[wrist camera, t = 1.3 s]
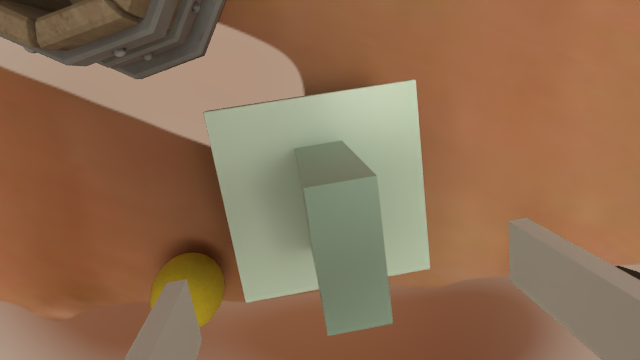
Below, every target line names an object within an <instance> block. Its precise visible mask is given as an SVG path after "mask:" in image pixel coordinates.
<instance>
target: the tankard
mask: <svg viewBox="0 0 640 360" xmlns="http://www.w3.org/2000/svg"><path fill="white" fill-rule="evenodd" d="M225 1H226V0H0V37H3V38H5V39H7V40H10V41H12V42H14V43H17V44H19V45H21V46H23V47H24V48H25V50H27V51H28V52H31V53H36V52H38V53H40V54H42V55H45V56H47V57H49V58H52V59H54V60H56V61H58V62H61V63H63V64H65V65H73V66H88V65H91V64H93V63H99V64H101V65H103V66H106V67H110V68H112V69H115V70H117V71H119V72H121V73H124V74H126V75H128V76H131V77H133V78H135V79H143V78H145V77H148V76H151V75H153V74H156V73H159V72H162V71H164V70H167V69H170V68H172V67H175V66H178V65H180V64H183V63H186V62H188V61H191V60H194V59H196V58H199V57H202V56H204V55H205V53H206V50H207V48H208V45H209V42H210V40H211V37H212V35H213V32H214V29H215V27H216V24H217V22H218V19H219V17H220V14H221V11H222V9H223V6H224V4H225Z"/></svg>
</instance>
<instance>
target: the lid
mask: <svg viewBox="0 0 640 360" xmlns="http://www.w3.org/2000/svg"><path fill="white" fill-rule="evenodd" d="M204 118H205V122H206V127H207V131H208V136H209V140H210V145H211V149H212V154H213V158H214V162H215V167H216V171H217V176H218V180H219V185H220V189H221V194H222V198H223V203H224V207H225V212H226V216H227V221H228V225H229V229H230V234H231V238H232V243H233V247H234V252H235V256H236V261H237V265H238V270H239V274H240V279H241V283H242V287H243V292H244V296H245V301H246V303H247V302H253V301H258V300H263V299H269V298H274V297H280V296H285V295H290V294H296V293H301V292H307V291H312V290H317V289H319V292H320V297H321V302H322V307H323V313H324V318H325V323H326V328H327V334H328V336H330V335H335V334H341V333H346V332H351V331H356V330H361V329H366V328H371V327H377V326H382V325H387V324H392V323H393V319H392V310H391V300H390V291H389V282H388V276H393V275H398V274H404V273H409V272H414V271H420V270H425V269H430V261H429V248H428V235H427V221H426V208H425V195H424V182H423V169H422V156H421V143H420V130H419V117H418V103H417V90H416V80H404V81H398V82H391V83H385V84H378V85H372V86H365V87H359V88H352V89H346V90H340V91H333V92H327V93H320V94H314V95H307V96H301V97H294V98H288V99H281V100H275V101H269V102H262V103H255V104H249V105H242V106H236V107H230V108H223V109H217V110H210V111H205V112H204Z"/></svg>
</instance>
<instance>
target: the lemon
mask: <svg viewBox="0 0 640 360" xmlns="http://www.w3.org/2000/svg"><path fill="white" fill-rule="evenodd" d="M185 279H187V283H188V287H189V291H190V295H191V298H192V302H193V306H194V310H195V314H196V318H197V321H198V325H199V328H200V327H202V326H203V325H205V324H206V323H207V322H208V321H209V320H210V319H211V318H212V317H213V316H214V314H215V313H216V311H217V310H218V308H219V307H220V304H221V302H222V299H223V295H224V287H225V281H224V277H223V273H222V270H221V269H220V267H219V265H218V264H217V263H216V262H215V261H214V260H213V259H212V258H210V257H208V256H207V255H204V254H201V253H193V252H192V253H184V254H181V255H179V256H176V257H174V258H173V259H171V260H170V261H169V262H167V263H166V264H165V265H164V266H163V267H162V269H161V270H160V271H159V272H158V274H157V276H156V278H155V280H154V282H153V285H152V288H151V295H150V305H151V310H152V308H153V306H154V305H155V303H156V301H157V299H158V297H159V296H160V294H161V292H162V290H163V288H164V287H165V285H166V283H168V282H174V281H179V280H185Z"/></svg>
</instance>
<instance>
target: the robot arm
mask: <svg viewBox="0 0 640 360" xmlns="http://www.w3.org/2000/svg"><path fill="white" fill-rule="evenodd" d="M509 260H510V281H511V282H512V283H513V284H514V285H515V286H517V287H518V288H519V289H520V290H521V291H522V292H524V293H525V294H526V295H527V296H528V297H529V298H531V299H532V300H533V301H534V302H535V303H537V304H538V305H539V306H540V307H541V308H542V309H543V310H544V311H546V312H547V313H548V314H549V315H550V316H551V317H553V318H554V319H555V320H556V321H557V322H558V323H560V324H561V325H562V326H563V327H564V328H565V329H567V330H568V331H569V332H570V333H571V334H572V335H573V336H575V337H576V338H577V339H578V340H579V341H580V342H582V343H583V344H584V345H585V346H586V347H587V348H589V349H590V350H591V351H592V352H594V354H596V355H597V356H598V357H599V358H600V359H601V360H640V273H639V272H637V271H633V270H630V269H627V268H624V267H621V266H613V265H611V264H610V263H608V262H606V261H604V260H602V259H601V258H599V257H597V256H595V255H593V254H591V253H590V252H588V251H586V250H584V249H582V248H581V247H579V246H577V245H575V244H573V243H571V242H570V241H568V240H566V239H564V238H562V237H561V236H559V235H557V234H555V233H553V232H551V231H550V230H548V229H546V228H544V227H542V226H541V225H539V224H537V223H535V222H533V221H531V220H530V219H528V218H522V219H517V220H511V221H509ZM201 342H202V337H201V333H200V329H199V325H198V321H197V318H196V314H195V310H194V306H193V302H192V298H191V295H190V291H189V287H188V283H187V279H185V280H179V281H174V282H168V283H166V285H165V287H164V288H163V290H162V292H161V294H160V296H159V297H158V299H157V301H156V303H155V305H154V306H153V308H152V310H151V312H150V314H149V316H148V317H147V319H146V321H145V323H144V325H143V326H142V328H141V330H140V332H139V334H138V335H137V337H136V339H135V341H134V342H133V344H132V346H131V348H130V350H129V352H128V353H127V355H126V357H125V359H124V360H196V359H197V356H198V352H199V348H200V345H201Z"/></svg>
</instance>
